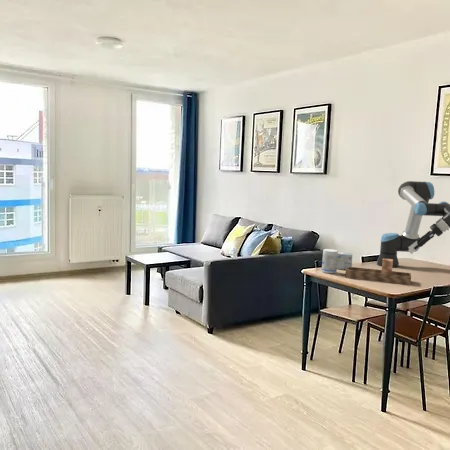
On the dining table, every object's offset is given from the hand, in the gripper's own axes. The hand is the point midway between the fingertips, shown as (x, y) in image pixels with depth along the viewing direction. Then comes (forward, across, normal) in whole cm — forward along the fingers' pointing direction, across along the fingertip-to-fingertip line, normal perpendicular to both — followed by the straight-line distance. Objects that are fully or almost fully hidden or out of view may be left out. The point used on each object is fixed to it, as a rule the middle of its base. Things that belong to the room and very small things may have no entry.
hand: (409, 250), depth 289 cm
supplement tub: (+48, +5, +20) cm, 52 cm away
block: (+20, 0, -3) cm, 21 cm away
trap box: (+26, 0, -2) cm, 26 cm away
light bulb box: (+43, +23, +15) cm, 51 cm away
